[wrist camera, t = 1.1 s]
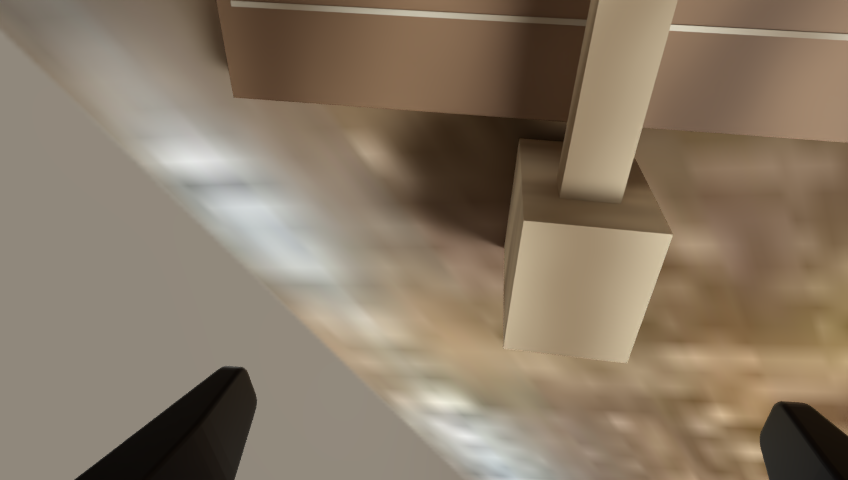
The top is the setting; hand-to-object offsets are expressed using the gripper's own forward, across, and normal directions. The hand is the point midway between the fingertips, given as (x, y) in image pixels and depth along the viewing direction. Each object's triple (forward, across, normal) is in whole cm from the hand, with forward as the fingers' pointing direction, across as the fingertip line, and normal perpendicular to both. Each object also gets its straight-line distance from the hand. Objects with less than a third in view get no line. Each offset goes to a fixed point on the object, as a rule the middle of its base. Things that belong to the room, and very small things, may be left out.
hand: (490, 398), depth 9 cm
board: (+12, -1, -4) cm, 13 cm away
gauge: (+12, -3, -1) cm, 13 cm away
